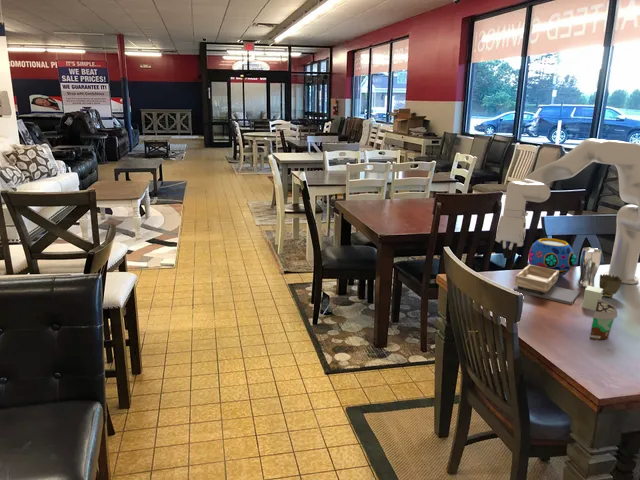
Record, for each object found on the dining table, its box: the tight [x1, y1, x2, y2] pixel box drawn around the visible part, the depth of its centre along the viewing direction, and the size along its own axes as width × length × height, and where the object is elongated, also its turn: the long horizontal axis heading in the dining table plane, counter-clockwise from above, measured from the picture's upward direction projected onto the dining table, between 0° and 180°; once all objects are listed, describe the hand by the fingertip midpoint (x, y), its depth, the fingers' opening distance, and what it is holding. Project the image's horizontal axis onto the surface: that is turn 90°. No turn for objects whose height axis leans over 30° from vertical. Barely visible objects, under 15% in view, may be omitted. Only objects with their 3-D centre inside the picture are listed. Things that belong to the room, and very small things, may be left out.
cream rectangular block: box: [581, 286, 603, 311], centre depth 183 cm, size 5×5×7 cm
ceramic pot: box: [527, 237, 577, 278], centre depth 213 cm, size 18×18×15 cm
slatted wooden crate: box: [513, 263, 559, 295], centre depth 198 cm, size 18×12×6 cm, turn 143°
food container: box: [589, 299, 618, 342], centre depth 161 cm, size 12×6×10 cm, turn 148°
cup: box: [598, 274, 622, 299], centre depth 193 cm, size 8×7×8 cm
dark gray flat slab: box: [513, 285, 580, 306], centre depth 197 cm, size 13×21×1 cm, turn 53°
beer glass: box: [577, 247, 602, 289], centre depth 203 cm, size 7×7×15 cm
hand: (506, 257), depth 203 cm, fingers closed
